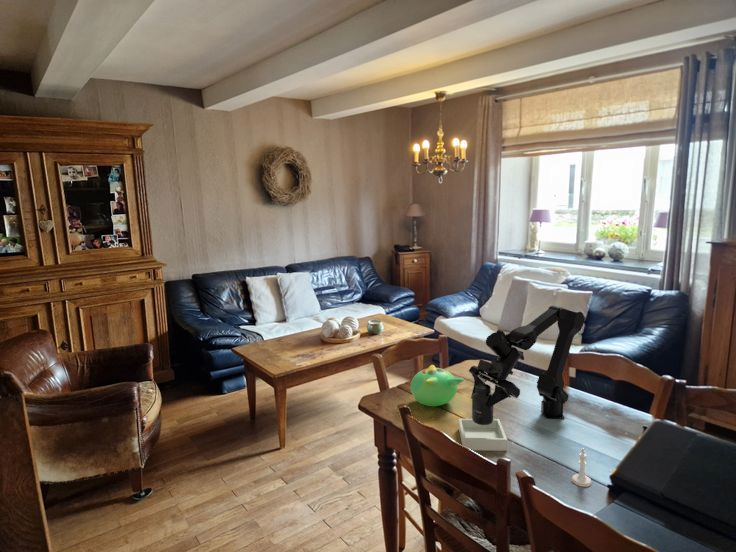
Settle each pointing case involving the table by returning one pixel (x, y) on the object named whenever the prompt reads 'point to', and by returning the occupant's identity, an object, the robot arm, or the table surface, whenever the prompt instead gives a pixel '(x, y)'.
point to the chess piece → (582, 472)
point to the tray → (482, 435)
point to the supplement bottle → (482, 405)
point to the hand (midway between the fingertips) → (479, 402)
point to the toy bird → (434, 386)
